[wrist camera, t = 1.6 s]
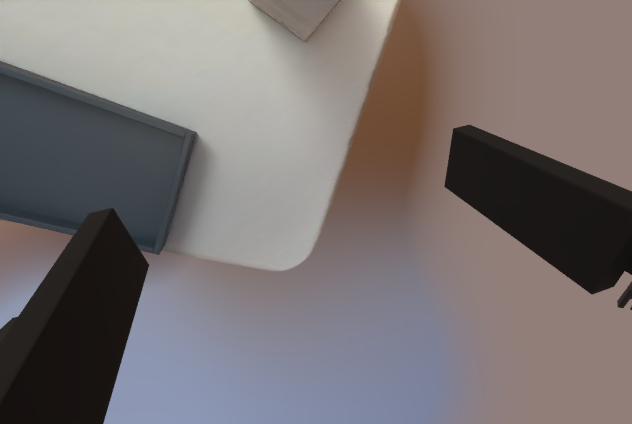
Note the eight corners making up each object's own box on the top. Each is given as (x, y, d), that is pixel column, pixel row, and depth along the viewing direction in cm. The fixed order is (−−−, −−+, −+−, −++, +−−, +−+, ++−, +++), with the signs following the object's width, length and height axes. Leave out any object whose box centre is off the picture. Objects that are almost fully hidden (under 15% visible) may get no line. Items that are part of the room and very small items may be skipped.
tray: (-59, 192, 27) (-85, 199, 25) (-49, 43, 24) (-78, 37, 22) (164, 245, 33) (158, 254, 31) (196, 132, 30) (192, 134, 28)
